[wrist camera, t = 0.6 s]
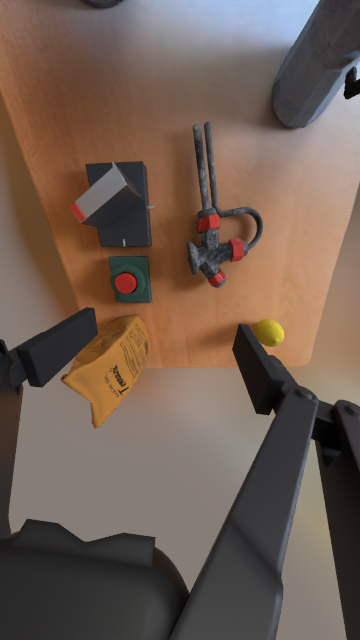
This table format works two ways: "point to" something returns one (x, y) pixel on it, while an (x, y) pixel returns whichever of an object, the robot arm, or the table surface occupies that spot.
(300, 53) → the moka pot
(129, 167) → the base
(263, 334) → the lemon
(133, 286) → the button
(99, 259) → the table surface
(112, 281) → the drain button box
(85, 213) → the tap lever
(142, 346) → the coffee package
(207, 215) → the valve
